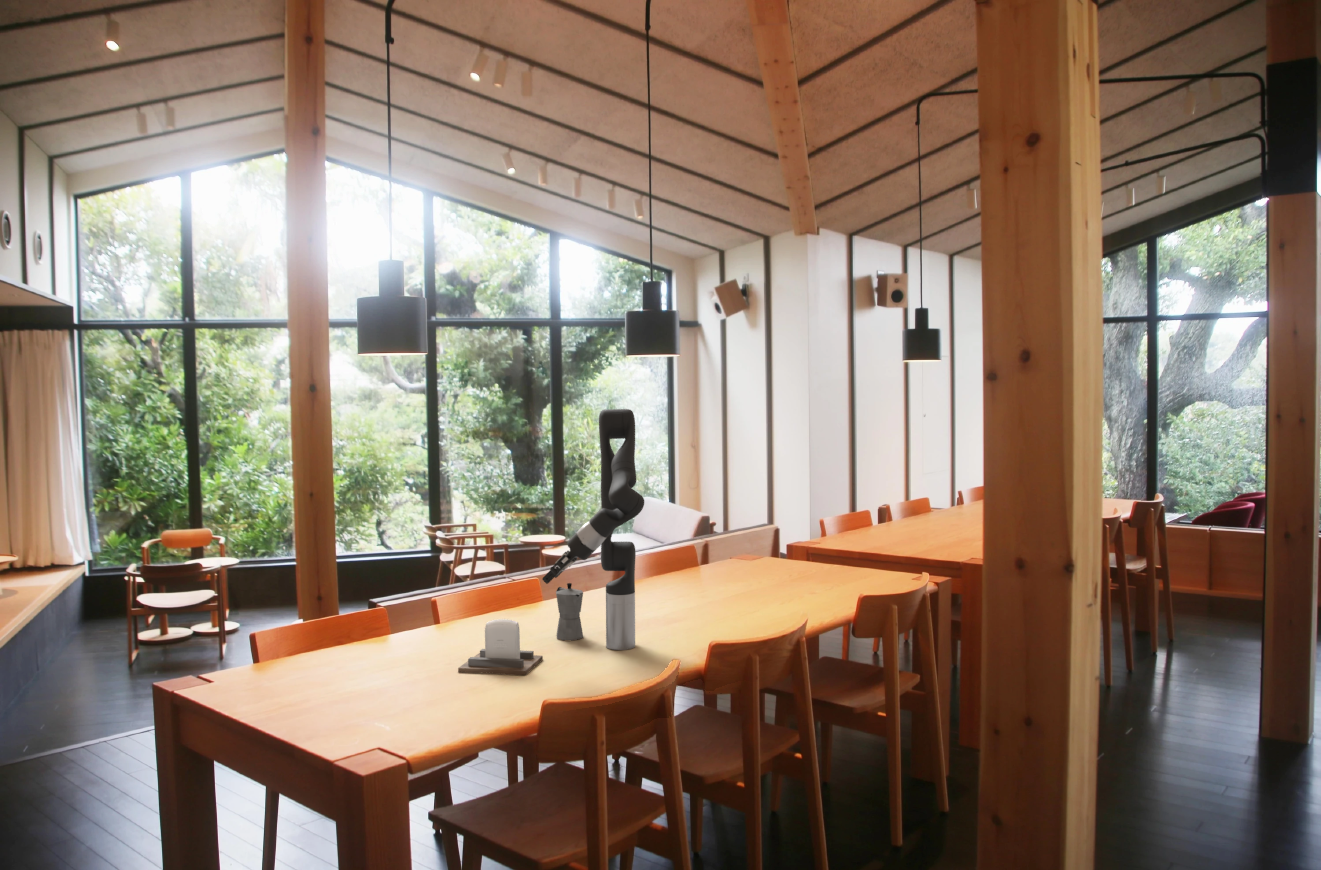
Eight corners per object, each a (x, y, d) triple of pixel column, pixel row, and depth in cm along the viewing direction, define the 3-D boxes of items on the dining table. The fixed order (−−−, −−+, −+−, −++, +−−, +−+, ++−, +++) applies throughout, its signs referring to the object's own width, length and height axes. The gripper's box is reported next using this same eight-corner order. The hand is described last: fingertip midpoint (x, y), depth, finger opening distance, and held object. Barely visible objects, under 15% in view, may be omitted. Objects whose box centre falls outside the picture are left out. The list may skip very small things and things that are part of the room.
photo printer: (483, 663, 251) (482, 620, 251) (487, 659, 255) (487, 617, 255) (518, 663, 250) (517, 621, 250) (521, 659, 255) (521, 617, 254)
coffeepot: (591, 639, 283) (591, 584, 282) (566, 643, 277) (565, 587, 277) (570, 629, 296) (569, 577, 295) (545, 633, 290) (544, 580, 290)
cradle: (479, 656, 262) (479, 646, 262) (542, 659, 259) (542, 648, 259) (458, 672, 246) (458, 660, 246) (525, 675, 243) (525, 663, 243)
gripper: (584, 527, 255) (547, 564, 257) (571, 534, 241) (532, 573, 243) (602, 545, 254) (564, 582, 256) (590, 553, 240) (550, 593, 242)
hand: (549, 578), depth 250 cm, fingers open, 8 cm apart
